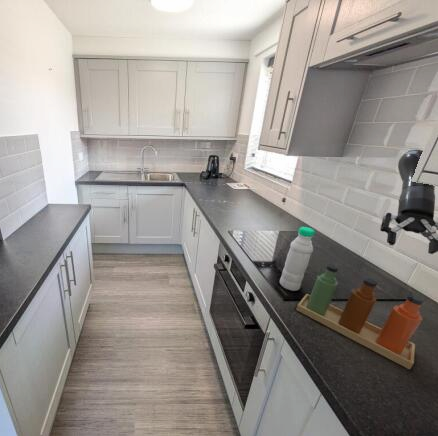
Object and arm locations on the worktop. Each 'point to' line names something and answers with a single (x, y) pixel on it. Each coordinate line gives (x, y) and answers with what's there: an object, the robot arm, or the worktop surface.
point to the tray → (364, 337)
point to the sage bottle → (323, 291)
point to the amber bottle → (359, 306)
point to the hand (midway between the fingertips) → (411, 248)
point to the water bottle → (297, 260)
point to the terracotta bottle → (401, 325)
